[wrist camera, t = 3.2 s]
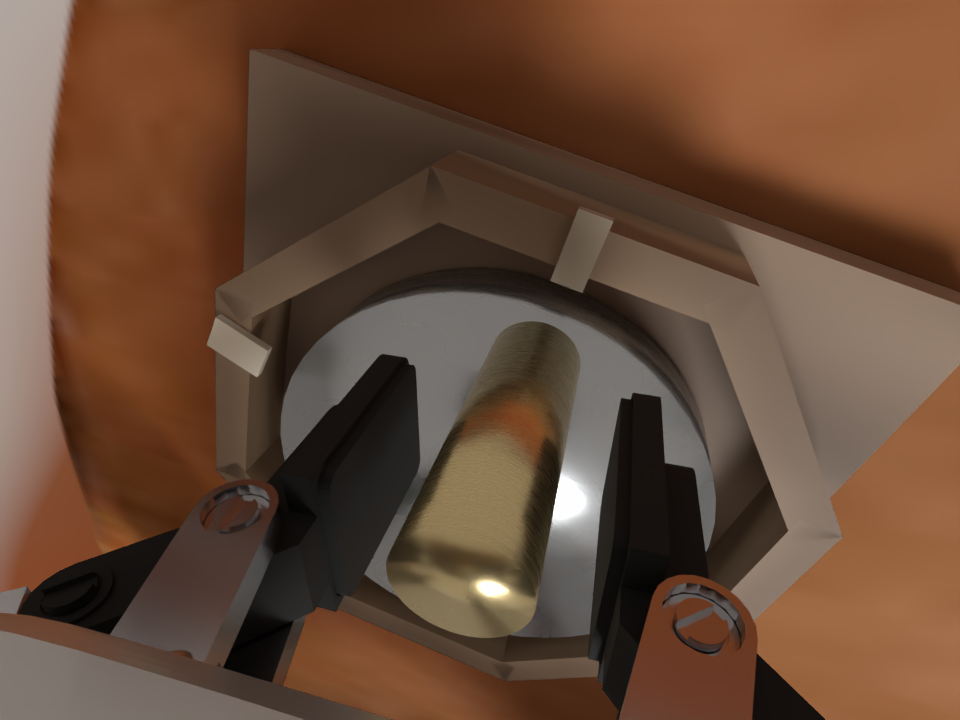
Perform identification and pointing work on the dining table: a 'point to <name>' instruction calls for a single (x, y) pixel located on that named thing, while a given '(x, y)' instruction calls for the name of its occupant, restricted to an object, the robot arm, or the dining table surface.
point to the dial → (501, 441)
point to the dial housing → (587, 269)
